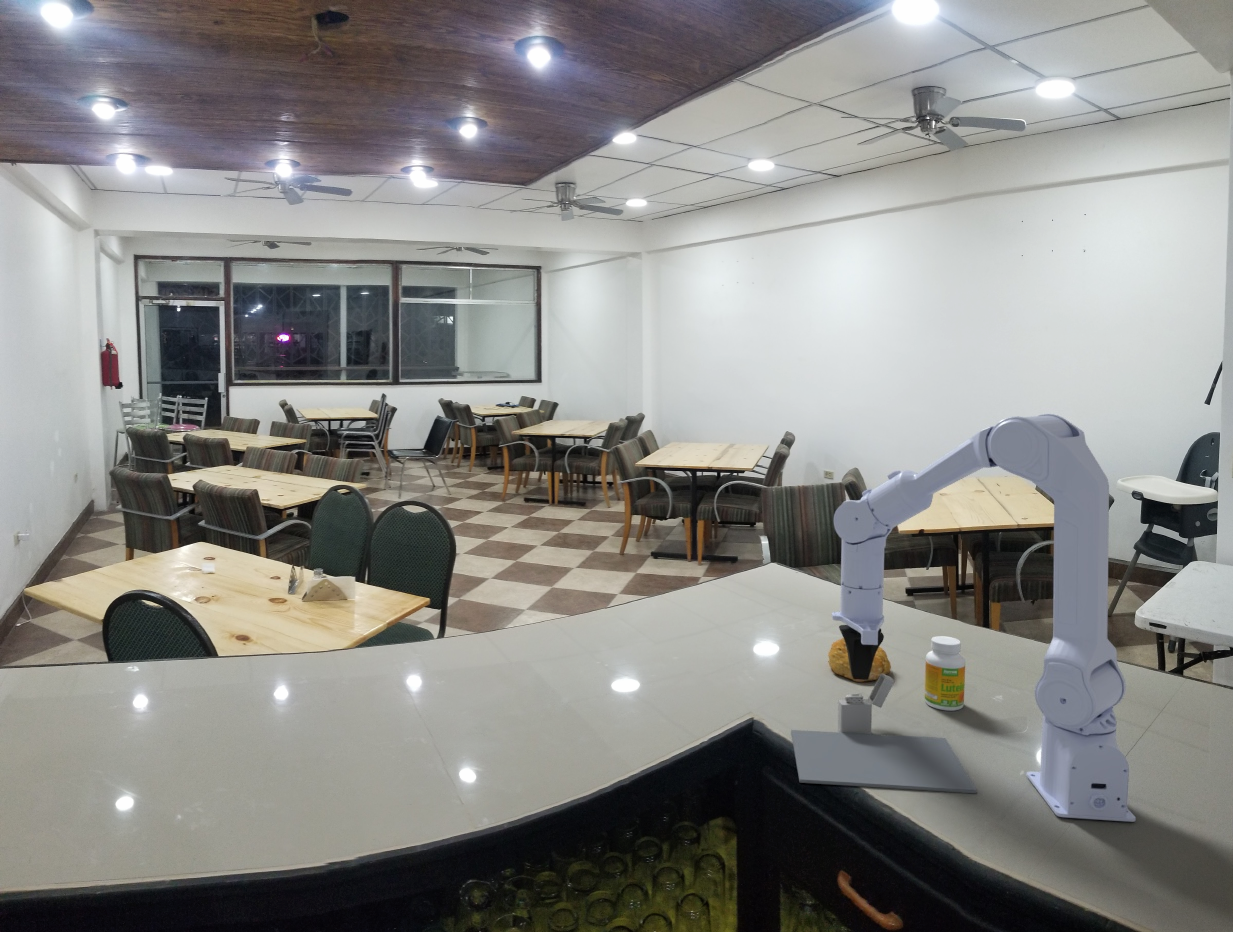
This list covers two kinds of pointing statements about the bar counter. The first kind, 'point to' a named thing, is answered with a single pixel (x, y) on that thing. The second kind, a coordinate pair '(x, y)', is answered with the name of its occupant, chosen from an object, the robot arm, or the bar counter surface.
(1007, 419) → the robot arm
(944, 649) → the supplement bottle
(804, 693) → the bar counter surface
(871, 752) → the mat
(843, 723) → the lighter
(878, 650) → the bagel
